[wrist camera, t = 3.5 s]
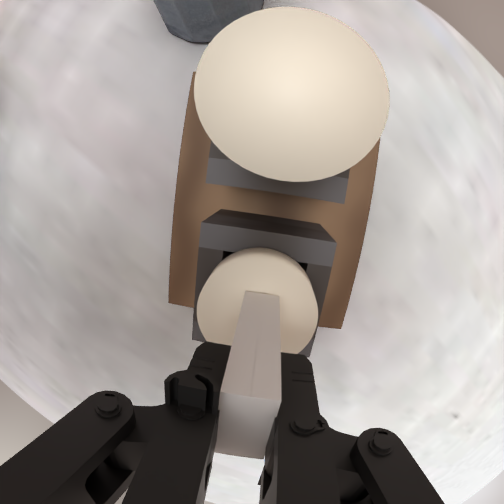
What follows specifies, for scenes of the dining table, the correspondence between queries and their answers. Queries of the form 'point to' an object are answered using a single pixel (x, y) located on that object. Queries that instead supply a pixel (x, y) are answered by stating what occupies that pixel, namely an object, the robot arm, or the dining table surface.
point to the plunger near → (291, 94)
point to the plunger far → (259, 281)
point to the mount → (265, 222)
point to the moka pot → (203, 16)
